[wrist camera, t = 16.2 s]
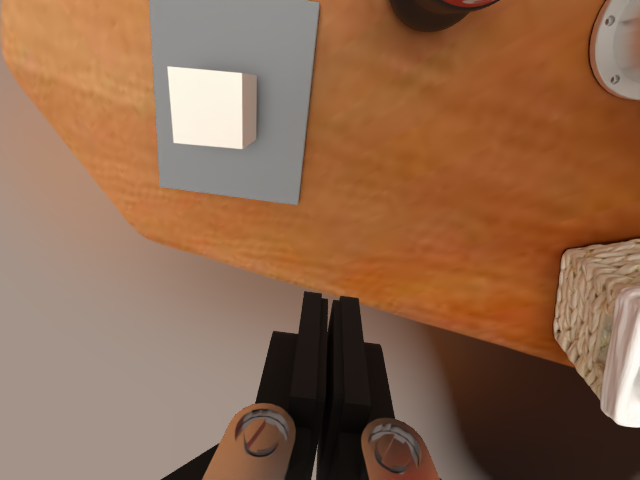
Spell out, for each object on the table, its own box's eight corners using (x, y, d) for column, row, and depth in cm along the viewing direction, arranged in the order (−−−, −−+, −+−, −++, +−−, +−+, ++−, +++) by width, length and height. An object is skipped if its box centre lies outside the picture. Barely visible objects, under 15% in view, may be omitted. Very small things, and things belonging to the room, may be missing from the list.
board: (320, 6, 35) (319, 2, 33) (299, 200, 43) (297, 205, 41) (157, -17, 34) (147, -23, 33) (167, 182, 42) (159, 186, 41)
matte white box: (256, 75, 34) (241, 73, 28) (256, 139, 36) (242, 149, 31) (194, 69, 34) (167, 66, 28) (197, 134, 36) (173, 142, 31)
